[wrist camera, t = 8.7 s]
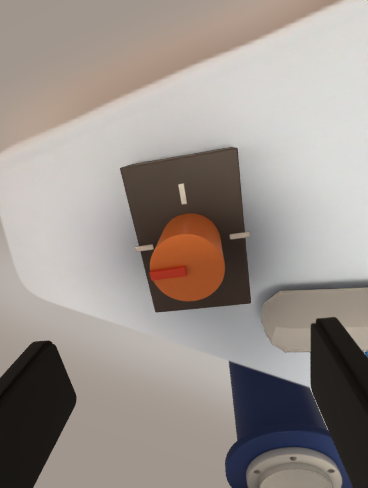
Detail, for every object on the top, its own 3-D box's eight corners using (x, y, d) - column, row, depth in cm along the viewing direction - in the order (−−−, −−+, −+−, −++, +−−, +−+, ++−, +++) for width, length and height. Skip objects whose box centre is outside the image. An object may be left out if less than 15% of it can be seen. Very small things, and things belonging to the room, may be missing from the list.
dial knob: (215, 208, 18) (219, 230, 14) (224, 264, 20) (229, 300, 15) (155, 218, 19) (140, 242, 14) (168, 271, 20) (157, 308, 16)
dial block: (249, 284, 24) (255, 304, 21) (157, 293, 25) (151, 314, 22) (236, 145, 19) (242, 146, 16) (127, 165, 21) (114, 169, 18)
